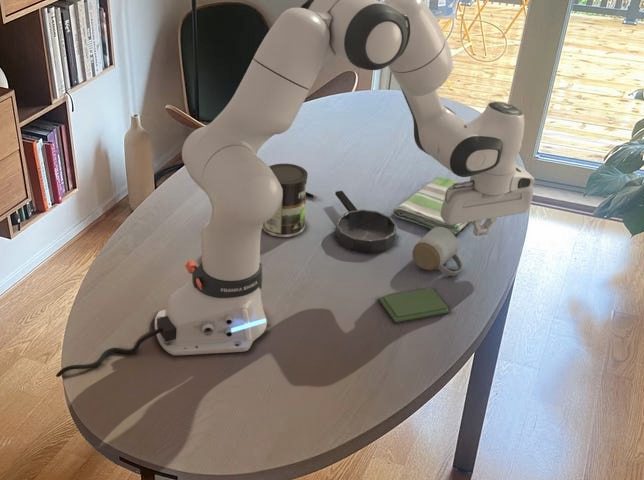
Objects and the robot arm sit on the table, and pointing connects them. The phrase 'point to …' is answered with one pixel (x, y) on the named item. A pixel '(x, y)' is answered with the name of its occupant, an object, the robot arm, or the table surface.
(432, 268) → the ceramic mug
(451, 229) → the dish towel
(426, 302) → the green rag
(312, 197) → the fountain pen
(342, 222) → the steel pan
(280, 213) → the coffee can
